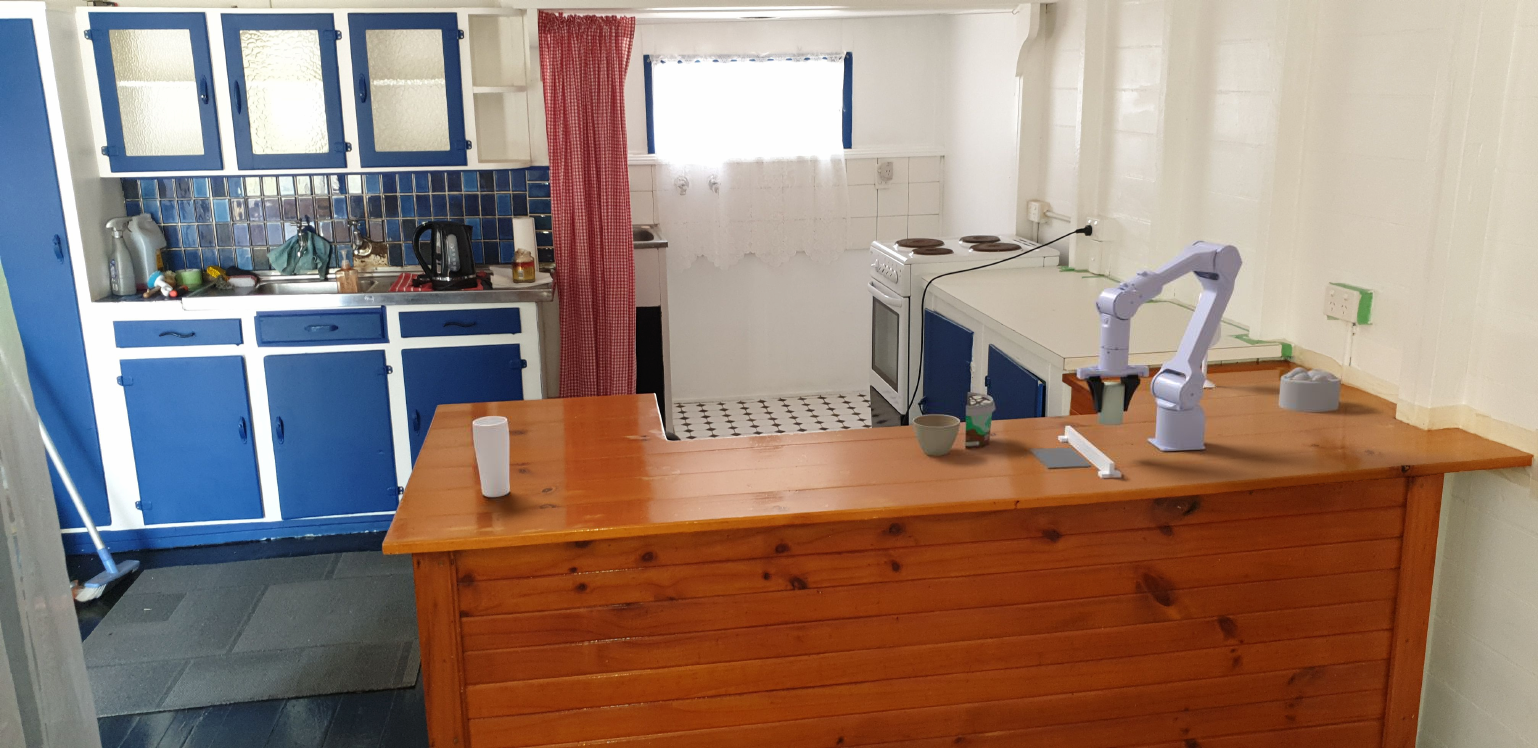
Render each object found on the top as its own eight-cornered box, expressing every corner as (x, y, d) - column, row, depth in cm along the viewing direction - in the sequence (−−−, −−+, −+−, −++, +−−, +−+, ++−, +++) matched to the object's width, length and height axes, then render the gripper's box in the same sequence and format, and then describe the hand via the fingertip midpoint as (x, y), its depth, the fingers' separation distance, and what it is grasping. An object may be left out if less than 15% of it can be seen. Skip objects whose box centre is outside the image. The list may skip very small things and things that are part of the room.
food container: (994, 452, 239) (995, 407, 237) (965, 451, 240) (966, 406, 238) (994, 435, 251) (995, 392, 248) (966, 434, 252) (967, 391, 250)
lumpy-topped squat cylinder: (1344, 409, 264) (1348, 374, 262) (1295, 414, 262) (1298, 378, 260) (1315, 398, 274) (1318, 364, 272) (1267, 402, 272) (1270, 368, 270)
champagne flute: (1191, 388, 286) (1198, 295, 280) (1186, 382, 292) (1193, 291, 286) (1219, 389, 285) (1226, 296, 279) (1213, 382, 291) (1221, 291, 285)
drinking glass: (481, 488, 224) (475, 416, 220) (515, 486, 224) (510, 415, 220) (475, 500, 217) (469, 426, 213) (511, 498, 218) (505, 424, 214)
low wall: (1075, 438, 247) (1076, 425, 246) (1121, 477, 222) (1122, 462, 221) (1058, 439, 247) (1058, 426, 246) (1101, 478, 222) (1102, 463, 221)
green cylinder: (1117, 418, 235) (1119, 381, 234) (1126, 424, 231) (1128, 387, 229) (1094, 419, 235) (1096, 382, 233) (1102, 425, 230) (1104, 388, 228)
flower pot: (965, 448, 242) (965, 416, 240) (952, 462, 233) (952, 429, 232) (920, 443, 246) (920, 411, 245) (906, 456, 238) (906, 424, 236)
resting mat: (1071, 448, 240) (1071, 447, 240) (1091, 466, 228) (1091, 465, 228) (1030, 450, 239) (1030, 449, 239) (1048, 468, 228) (1048, 467, 228)
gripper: (1140, 341, 233) (1136, 404, 237) (1073, 344, 232) (1070, 407, 236) (1154, 348, 227) (1150, 413, 230) (1085, 351, 225) (1081, 416, 229)
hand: (1110, 410), depth 232 cm, fingers closed on green cylinder, 5 cm apart
